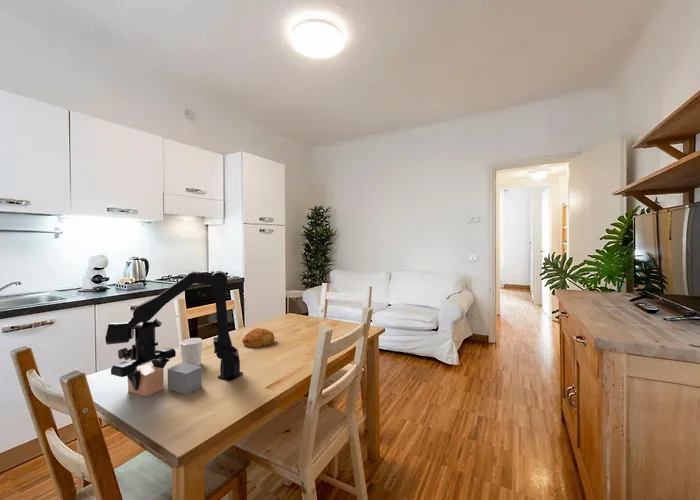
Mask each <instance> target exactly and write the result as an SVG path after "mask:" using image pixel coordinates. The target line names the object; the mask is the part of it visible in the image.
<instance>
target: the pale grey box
mask: <svg viewBox="0 0 700 500" xmlns="http://www.w3.org/2000/svg"><path fill="white" fill-rule="evenodd" d="M202 367H203V366H200V365H199V366H196V365H191V364H187V363H182V362H181V363H179V364H177V365H175V366H172V367H170V368H168V369H167V390H170V391H173V392H176V393H181V394H184V395H189V394H191V393H192V392H195V391H196V390H198V389H199V388H201V387H203V377H202V376H203V368H202Z"/></svg>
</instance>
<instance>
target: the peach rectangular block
mask: <svg viewBox="0 0 700 500" xmlns="http://www.w3.org/2000/svg"><path fill="white" fill-rule="evenodd" d="M137 371H140V379H139V387H138V390H134V388H133V386H132V384H131V382H130V380H129V378H128V377H127V391H128V393H132V394H136V395H138V396H139V395H140V396H143V397H149V396H150V395H151V396H152V395H153V394H155V393H156V392H159V391H161V390H163V389H165V388H164V386H165V385H164V384H165V382H164V380H165V379H164V368H159V367H155V366H153V365H150V364H147V363H146V364H143V365H141V366H138V367H137Z"/></svg>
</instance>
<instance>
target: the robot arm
mask: <svg viewBox="0 0 700 500" xmlns="http://www.w3.org/2000/svg"><path fill="white" fill-rule="evenodd" d="M228 281H229V280H228V276H227V273H225V272H224V271H221V270H217V271H214V272H206V271H204V272H201V271H200V272H199V271H195V270H193V271H190V272H188V274H187V275H186V276H184V277H183V278H181V279H180V280H179V281H177V282H176V283H174V284H173V285H171V286H170V287H169V288H167V289H166V290H164V291H163V292H162V293H160V294H158V295H157V296H155V297H152V298H150V299H148V300H146V301H144V302H143V303H140V304H139V305H138V306H137V307H135V309H133V312H132V316H133V317H131V318H130V319H129V320H128V321H127V322H126V321H125V322H124V321H123V322H110V323H109V324H108V325H107V330H106V332H105V333H106V335H105V337H104V338H105V339H104V340H105V344H106V345H117V344H126V343H130V341H131V340H133V339H134V343H133V344H132V345H131V348H129V349H128V348H127V347H124V348H121V349H118V351H117V355H118V359H119V360H123V359H124V361H121V362H118V363H116V364H113V365H112V366H111V368H110V375H113V376H115V377H120V378H124V377H127V379H128V378H129V380H130V382H131V384H132V386H133V388H134V390H138V387H139V379H140V371H137V367H140V366H142V365H145V364H146V365H147V364H149V363H150V362H151V364H152V366H155V367H159V368H163V369H164V368H165V367H166V365H167V363H168V362H170V359H172V358H175V357H176V350H175V348H172V347H166V346H164V347H162V348H159V349H156V346H159V342H158V341H156V328H159V327H161V326H162V324H163V322H162V321H160V320H159V319H157V318H154V320H152V321H150V320H151V319H153V317H155V316H156V315H157V313H158V312H159V311H161V310H162V309H163V307H164V306H165V305H167V304H168V303H169V302H170V301H172V300H174V299H175V298H176V297H178V296H179V295H181V293H183V292H184V291H185V290H187V289H189V288H190V287H191V286H193V285H194V284H199V285H205V286H211V289H212V292H213V295H214V298H215V312H216V313H215V315H216V323H217V337H213V342H212V343H213V345H214V348H213V353H214V354H215V355H216V357H217V358H218V359H219V360H220V365H219V367H220V370H219V371H220V372H219V373H220V375H218V376H217V378H218V379H220V380H226V381H229V382H230V381H233V380H235V379H237V378H238V377H240V376H242V375H243V373H244V372H242V371H241V361H240V360H241V359H240V355H239V349H238V348H237V347H235V346H233V342H232V339H231V336H230V332H229V323H228V322H229V321H228V311H227V310H228V309H227V298H226V297H227V290H228ZM141 323H142V324H141ZM129 359H130V360H131V361H132V362H129V361H127V360H129Z"/></svg>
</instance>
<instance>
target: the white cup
mask: <svg viewBox="0 0 700 500" xmlns="http://www.w3.org/2000/svg"><path fill="white" fill-rule="evenodd" d="M202 352H203V339H202V338H201V337H191V338H186V339H183V340H181V341H180V354H181V355H180V357H181V363H187V364H191V365H196V366H200V365H201V364H202Z"/></svg>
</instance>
